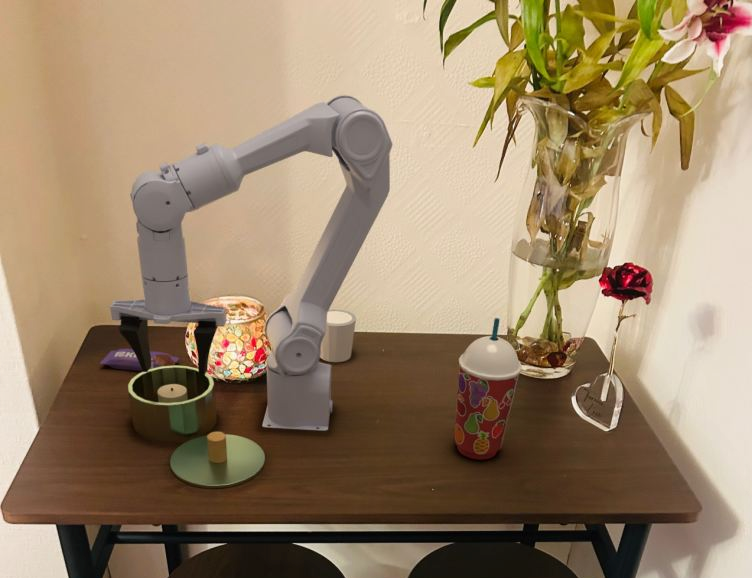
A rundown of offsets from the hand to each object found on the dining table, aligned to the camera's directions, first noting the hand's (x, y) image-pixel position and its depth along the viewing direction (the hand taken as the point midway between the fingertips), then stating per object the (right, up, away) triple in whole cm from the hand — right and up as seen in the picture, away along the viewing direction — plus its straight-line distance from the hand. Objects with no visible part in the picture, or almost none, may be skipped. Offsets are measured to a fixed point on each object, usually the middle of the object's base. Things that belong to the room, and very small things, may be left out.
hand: (175, 370), depth 105 cm
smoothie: (+42, -11, +6) cm, 43 cm away
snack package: (-11, +3, +20) cm, 23 cm away
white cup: (+20, +6, +28) cm, 35 cm away
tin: (-2, -7, +6) cm, 9 cm away
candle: (-2, -7, +6) cm, 9 cm away
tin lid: (+6, -12, -2) cm, 14 cm away
